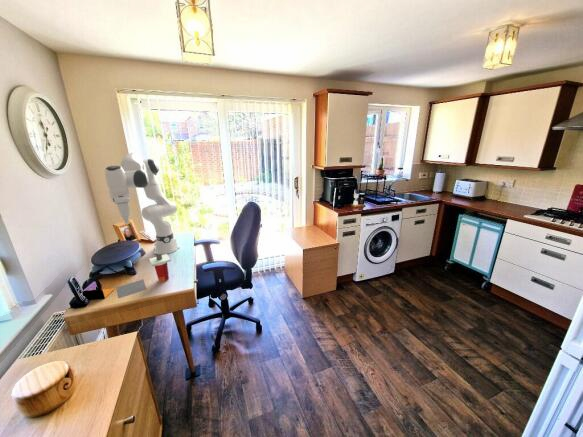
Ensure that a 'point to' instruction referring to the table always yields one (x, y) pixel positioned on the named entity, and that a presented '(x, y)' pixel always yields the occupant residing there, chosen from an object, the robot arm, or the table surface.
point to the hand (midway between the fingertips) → (126, 221)
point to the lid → (159, 259)
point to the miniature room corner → (95, 292)
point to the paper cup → (162, 272)
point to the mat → (131, 288)
